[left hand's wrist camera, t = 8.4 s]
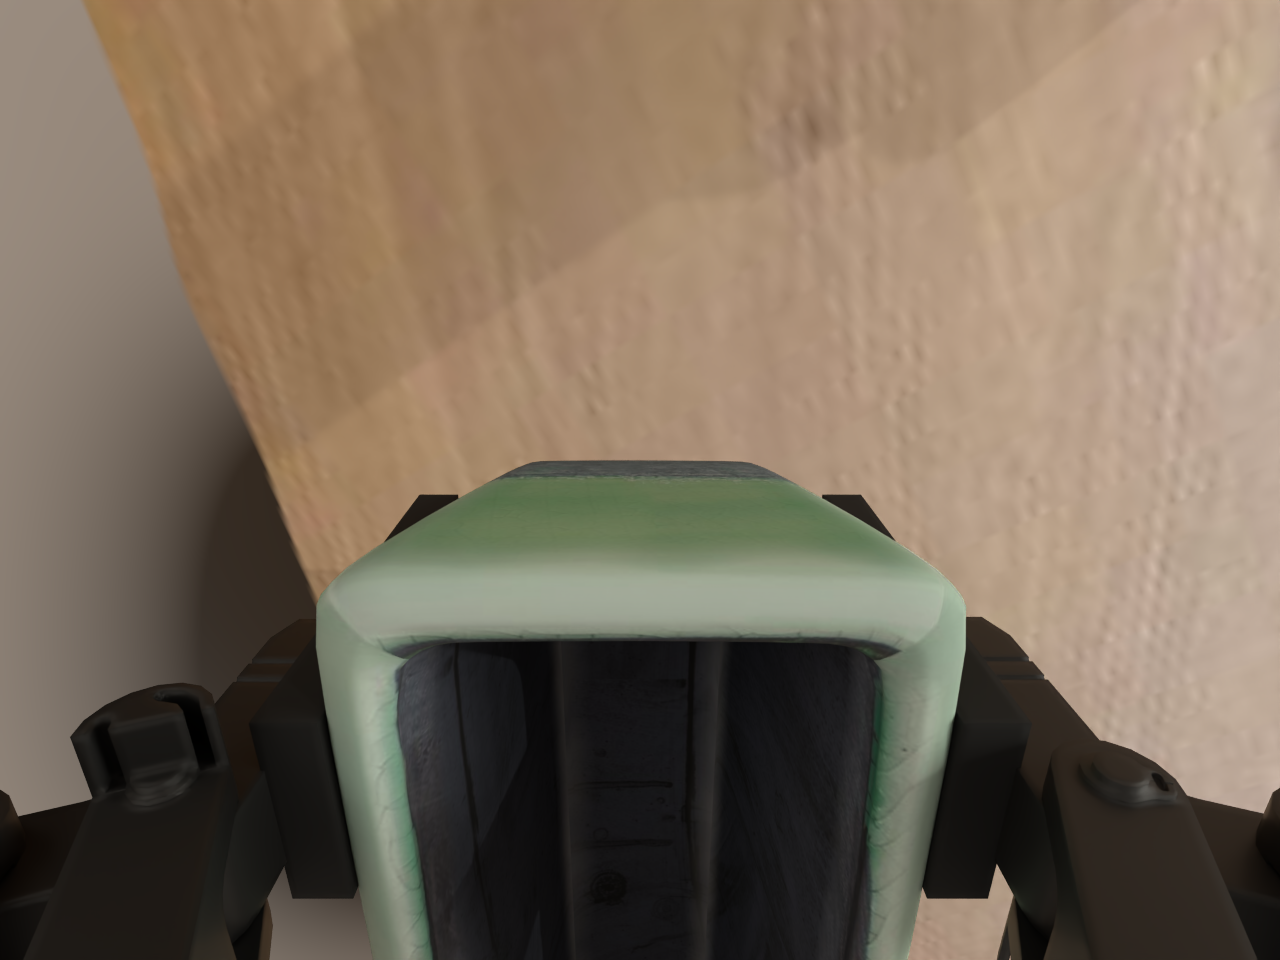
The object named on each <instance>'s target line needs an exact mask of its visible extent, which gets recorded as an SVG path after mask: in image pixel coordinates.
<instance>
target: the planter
mask: <svg viewBox="0 0 1280 960" xmlns="http://www.w3.org/2000/svg"><path fill="white" fill-rule="evenodd" d="M965 650H966V605H965V603H964V600H963V598H962V596H961V594H960V593H959V592H958V591H957V589H956V588H955V587H954V586H953V585H952V583H951V582H950V581H949V580H948V579H947V578H945V577H944V576H943V575H942V574H941V573H940V572H939V571H938V570H937V569H936V568H935V567H933V566H932V565H930V564H929V563H927V562H926V561H925V560H923V559H922V558H920V557H919V556H917V555H916V554H915V553H913V552H912V551H910V550H909V549H907V548H906V547H904V546H902V545H901V544H899V543H897V542H896V541H894V540H892V539H891V538H889V537H887V536H886V535H884V534H882V533H881V532H879V531H878V530H876V529H874V528H873V527H871V526H869V525H868V524H866V523H864V522H863V521H861V520H859V519H858V518H856V517H854V516H852V515H851V514H849V513H847V512H845V511H844V510H842V509H840V508H838V507H837V506H835V505H833V504H831V503H830V502H828V501H826V500H824V499H823V498H821V497H819V496H817V495H815V494H813V493H812V492H810V491H808V490H806V489H804V488H802V487H801V486H799V485H797V484H795V483H793V482H791V481H789V480H787V479H786V478H784V477H782V476H780V475H778V474H776V473H774V472H772V471H770V470H768V469H765V468H763V467H760V466H758V465H755V464H752V463H747V462H731V461H539V462H532V463H529V464H526V465H523V466H521V467H518V468H516V469H514V470H512V471H510V472H508V473H506V474H504V475H502V476H500V477H498V478H496V479H494V480H492V481H490V482H488V483H486V484H485V485H483V486H481V487H479V488H477V489H475V490H473V491H472V492H470V493H468V494H466V495H464V496H462V497H461V498H459V499H457V500H455V501H453V502H452V503H450V504H448V505H446V506H445V507H443V508H441V509H439V510H438V511H436V512H434V513H432V514H431V515H429V516H427V517H425V518H424V519H422V520H420V521H419V522H417V523H415V524H414V525H412V526H410V527H409V528H407V529H406V530H404V531H402V532H401V533H399V534H397V535H396V536H394V537H392V538H391V539H389V540H387V541H386V542H384V543H382V544H381V545H379V546H377V547H376V548H374V549H373V550H371V551H370V552H368V553H367V554H366V555H364V556H363V557H361V558H360V559H358V560H357V561H356V562H354V563H353V564H351V565H350V566H348V567H347V568H346V569H345V570H344V571H343V572H342V573H341V574H340V575H339V576H338V577H336V578H335V579H334V580H333V581H332V582H331V583H330V585H329V586H328V587H327V588H326V589H325V590H324V592H323V593H322V594H321V596H320V598H319V600H318V603H317V616H316V651H317V657H318V664H319V670H320V677H321V683H322V689H323V696H324V702H325V709H326V715H327V722H328V728H329V735H330V741H331V746H332V751H333V756H334V762H335V767H336V772H337V777H338V782H339V788H340V793H341V798H342V803H343V808H344V814H345V819H346V824H347V829H348V834H349V839H350V845H351V850H352V855H353V860H354V865H355V870H356V875H357V880H358V887H359V892H360V897H361V902H362V907H363V912H364V917H365V922H366V927H367V932H368V937H369V942H370V947H371V952H372V957H373V960H908V956H909V951H910V946H911V941H912V936H913V931H914V926H915V921H916V916H917V911H918V906H919V901H920V896H921V891H922V886H923V881H924V875H925V870H926V865H927V860H928V855H929V850H930V845H931V840H932V835H933V830H934V825H935V820H936V814H937V809H938V804H939V799H940V794H941V789H942V784H943V779H944V773H945V768H946V763H947V758H948V753H949V748H950V743H951V737H952V731H953V725H954V718H955V712H956V706H957V700H958V693H959V687H960V681H961V675H962V669H963V662H964V656H965Z"/></svg>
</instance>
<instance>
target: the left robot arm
mask: <svg viewBox="0 0 1280 960" xmlns="http://www.w3.org/2000/svg"><path fill="white" fill-rule="evenodd" d="M822 498H823V499H824V500H826V501H828V502H830V503H831V504H833V505H835V506H837V507H838V508H840V509H842V510H844V511H845V512H847V513H849V514H851V515H852V516H854V517H856V518H858V519H859V520H861V521H863V522H864V523H866V524H868V525H869V526H871V527H873V528H874V529H876V530H878V531H879V532H881V533H882V534H884V535H886V536H887V537H889V538H891V539H892V540H894V538H893V537H892V536H891V534H890V533H889V532H888V530H887V529H886V528H885V526H884V525H883V524H882V522H881V521H880V520H879V518H878V517H877V516H876V514H875V513H874V512H873V510H872V509H871V508H870V506H869V505H868V504H867V502H866V501H865V500H864V498H863V497H862V496H861V495H822ZM457 499H458V495H419V496H418V498H417V499H416V500H415V502H414V503H413V504H412V506H411V507H410V508H409V510H408V511H407V512H406V514H405V515H404V516H403V518H402V519H401V520H400V522H399V523H398V524H397V526H396V527H395V528H394V530H393V531H392V532H391V534H390V535H389V536H388V538H387V539H386V540H385V542H386V541H387V540H389V539H391V538H392V537H394V536H396V535H397V534H399V533H401V532H402V531H404V530H406V529H407V528H409V527H410V526H412V525H414V524H415V523H417V522H419V521H420V520H422V519H424V518H425V517H427V516H429V515H431V514H432V513H434V512H436V511H438V510H439V509H441V508H443V507H445V506H446V505H448V504H450V503H452V502H453V501H455V500H457ZM894 541H895V540H894ZM70 738H71V741H72V743H73V746H74V749H75V751H76V754H77V757H78V759H79V762H80V765H81V768H82V770H83V773H84V776H85V778H86V781H87V784H88V787H89V789H90V792H91V795H92V797H93V798H92V799H91V800H87V801H84V802H80V803H76V804H71V805H67V806H62V807H58V808H53V809H49V810H45V811H40V812H36V813H31V814H27V815H23V816H18V815H17V813H16V811H15V808H14V806H13V804H12V801H11V799H10V797H9V795H7V794H6V793H4V792H3V791H1V790H0V960H269V957H270V948H271V938H272V928H273V924H272V918H271V911H270V907H269V903H268V900H267V897H268V895H269V894H270V892H271V890H272V888H273V886H274V884H275V882H276V880H277V879H278V877H279V875H280V873H281V871H282V869H283V867H284V866H285V870H286V874H287V878H288V882H289V886H290V890H291V894H292V898H293V899H295V898H299V899H300V898H354V895H355V893H356V890H357V888H358V880H357V875H356V870H355V865H354V860H353V855H352V850H351V845H350V839H349V834H348V829H347V824H346V819H345V814H344V808H343V803H342V798H341V793H340V788H339V782H338V777H337V772H336V767H335V762H334V756H333V751H332V746H331V741H330V735H329V728H328V722H327V715H326V709H325V702H324V696H323V689H322V683H321V677H320V670H319V664H318V657H317V651H316V619H299V620H297V621H296V622H294V623H293V624H291V625H290V626H288V627H286V628H285V629H283V630H282V631H280V632H279V633H277V634H276V635H274V636H273V637H271V638H270V639H269V640H268V642H267V643H266V644H265V645H264V646H263V647H262V649H261V650H260V651H259V652H258V653H257V655H256V656H255V657H254V658H253V659H252V664H248V665H247V666H246V668H245V669H244V670H243V671H242V672H241V673H240V675H239V676H238V677H237V682H233V683H232V684H231V685H230V686H229V688H228V689H227V690H226V691H225V693H224V694H223V695H222V696H221V697H220V698H219V700H218V701H217V702H216V703H215V704H214V700H213V696H212V694H211V693H210V692H208V691H207V690H206V689H204V688H203V687H202V686H199V685H193V684H187V683H175V684H165V685H157V686H153V687H150V688H147V689H143V690H140V691H136V692H133V693H130V694H128V695H126V696H124V697H121V698H119V699H117V700H115V701H113V702H111V703H109V704H107V705H105V706H103V707H102V708H101V709H99V710H98V711H96V712H95V713H94V714H92V715H91V716H89V717H88V718H87V719H85V720H84V721H83V722H82V723H81V724H80V726H79V727H78V728H77V729H76V731H75V732H74V733H73V734H72V736H71V737H70ZM996 864H997V865H998V867H999V869H1000V870H1001V872H1002V874H1003V876H1004V878H1005V880H1006V882H1007V883H1008V885H1009V887H1010V889H1011V891H1012V893H1013V895H1014V896H1013V899H1012V903H1011V907H1010V911H1009V914H1008V918H1007V922H1006V925H1005V929H1004V933H1003V936H1002V940H1001V944H1000V948H999V951H998V957H997V960H1009V958H1010V955H1011V960H1280V788H1279V789H1278V790H1276V791H1274V792H1273V793H1272V796H1271V798H1270V800H1269V803H1268V805H1267V807H1266V810H1265V812H1264V814H1263V813H1258V812H1254V811H1249V810H1245V809H1241V808H1236V807H1232V806H1227V805H1223V804H1218V803H1214V802H1210V801H1205V800H1201V799H1197V798H1193V797H1190V796H1187V795H1186V793H1185V792H1184V791H1183V789H1182V788H1181V786H1180V785H1179V783H1178V782H1177V781H1176V779H1175V778H1174V777H1172V776H1171V775H1170V774H1169V773H1167V772H1166V771H1165V770H1164V769H1163V768H1161V767H1160V766H1159V765H1158V764H1156V763H1155V762H1153V761H1152V760H1150V759H1148V758H1146V757H1144V756H1142V755H1140V754H1138V753H1137V752H1135V751H1133V750H1131V749H1128V748H1125V747H1122V746H1119V745H1116V744H1113V743H1110V742H1106V741H1100V740H1099V739H1098V738H1097V737H1096V736H1095V734H1094V733H1093V732H1092V731H1091V730H1090V729H1089V727H1088V726H1087V725H1086V724H1085V723H1084V722H1083V720H1082V719H1081V718H1080V717H1079V716H1078V714H1077V713H1076V712H1075V711H1074V710H1073V709H1072V707H1071V706H1070V705H1069V704H1068V703H1067V702H1066V700H1065V699H1064V698H1063V697H1062V696H1061V694H1060V693H1059V692H1058V691H1057V690H1056V689H1055V687H1054V686H1053V685H1052V684H1051V683H1050V682H1049V680H1045V679H1044V674H1043V673H1042V672H1041V671H1040V670H1039V669H1038V667H1037V666H1036V665H1035V664H1034V663H1033V662H1032V661H1029V657H1028V656H1027V655H1026V653H1025V652H1024V651H1023V650H1022V649H1021V647H1020V646H1019V645H1018V644H1017V643H1016V642H1015V640H1014V639H1013V638H1012V637H1011V636H1010V635H1009V634H1007V633H1006V632H1004V631H1003V630H1001V629H999V628H998V627H996V626H995V625H993V624H992V623H990V622H989V621H987V620H986V619H984V618H982V617H966V650H965V656H964V662H963V669H962V675H961V681H960V687H959V693H958V700H957V706H956V712H955V718H954V725H953V731H952V737H951V743H950V748H949V753H948V758H947V763H946V768H945V773H944V779H943V784H942V789H941V794H940V799H939V804H938V809H937V814H936V820H935V825H934V830H933V835H932V840H931V845H930V850H929V855H928V860H927V865H926V870H925V875H924V881H923V886H922V887H923V889H924V892H925V894H926V897H927V898H930V899H988V896H989V892H990V888H991V884H992V880H993V876H994V872H995V868H996Z"/></svg>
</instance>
